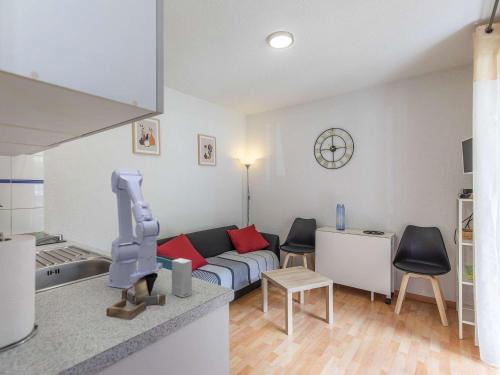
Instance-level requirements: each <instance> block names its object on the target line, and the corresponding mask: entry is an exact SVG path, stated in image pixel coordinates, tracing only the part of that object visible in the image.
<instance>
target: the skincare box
mask: <svg viewBox="0 0 500 375" xmlns="http://www.w3.org/2000/svg"><path fill="white" fill-rule="evenodd" d="M192 267H193V262H192V260H190V259H186V258H182V257H180V258H175V259H173V260H171V294H172V295H173V296H177V297H180V298H186V297H188V296H190V295H192V294H193V292H192V289H193V288H192V286H193V285H192V284H193V283H192V281H193V280H192V278H193V276H192V274H193V271H192V270H193V268H192Z"/></svg>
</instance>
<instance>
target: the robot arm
mask: <svg viewBox="0 0 500 375" xmlns="http://www.w3.org/2000/svg"><path fill="white" fill-rule="evenodd" d="M143 180H144V179H143V173H142V172H141V171H140V170H119V169H114V170H113V172H112V173H111V177H110V182H111V183H110V184H111V192H113V193H114V194H115V195H116V202H117V217H118V218H117V220H118V234H119V236H118V237H117V238H116V239H115V240H113V241H112V242H111V250H110V256H111V260H112V262H111V263H110V265H109V269H108V284H106V286H107V287H110V288H111V287H113V288H117V289H118V288H119V289H128V290H129V289H130V288H133V282H137V280H138V279H140V278H142V279H146V284H147V289H148V294H149V296H152V291H153V289H154V285H155V282H156V280H157V279H158V277H159V274H158V272H159V271H160V270H162V269H163V262H157V242H158V241H157V240H158V236H159V235H160V232H161V225H160V222H159V220H158V219H157V218H156V217H155V216H153V213H152V211H151V208H150V205H149V203H147V202H146V201H144V197H143V192H142V188H141V187H142V184H143ZM132 204H133V205H132ZM133 218H134V222H135V229H134V230H135V235H134V230H133V228H134V226H133ZM137 266H138V267H137Z"/></svg>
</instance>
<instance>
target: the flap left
mask: <svg viewBox="0 0 500 375" xmlns="http://www.w3.org/2000/svg"><path fill="white" fill-rule="evenodd" d="M126 300H128V301H129V302H130V303H131V304H135V303H136V298H135V293H134V292H131V291H130V290H128V291H127V299H126Z"/></svg>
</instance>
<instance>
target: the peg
mask: <svg viewBox="0 0 500 375" xmlns="http://www.w3.org/2000/svg"><path fill="white" fill-rule="evenodd" d="M132 288H133V294H134V295H135V303H136V304H137V305H140V304H141V303H143V297H145V296H149V294H148V289H147V284H146V279H142V278H140V279H138V280H137V282H133V286H132Z"/></svg>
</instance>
